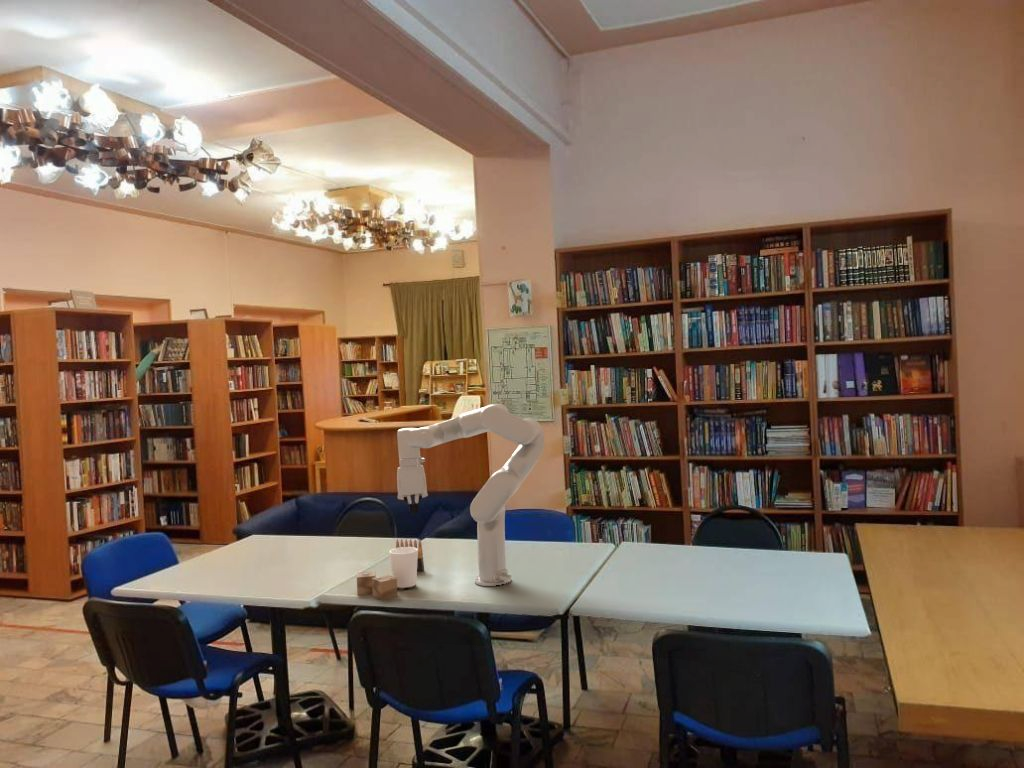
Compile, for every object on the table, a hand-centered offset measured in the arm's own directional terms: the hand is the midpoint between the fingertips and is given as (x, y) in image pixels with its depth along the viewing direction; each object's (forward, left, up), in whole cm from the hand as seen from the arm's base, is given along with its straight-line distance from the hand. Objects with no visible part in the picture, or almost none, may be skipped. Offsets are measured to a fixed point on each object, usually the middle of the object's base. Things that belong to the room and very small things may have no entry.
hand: (414, 514), depth 263 cm
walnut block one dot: (+1, +19, -24) cm, 30 cm away
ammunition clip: (+13, -5, -24) cm, 27 cm away
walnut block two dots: (-8, +17, -24) cm, 30 cm away
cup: (-4, +7, -24) cm, 25 cm away
